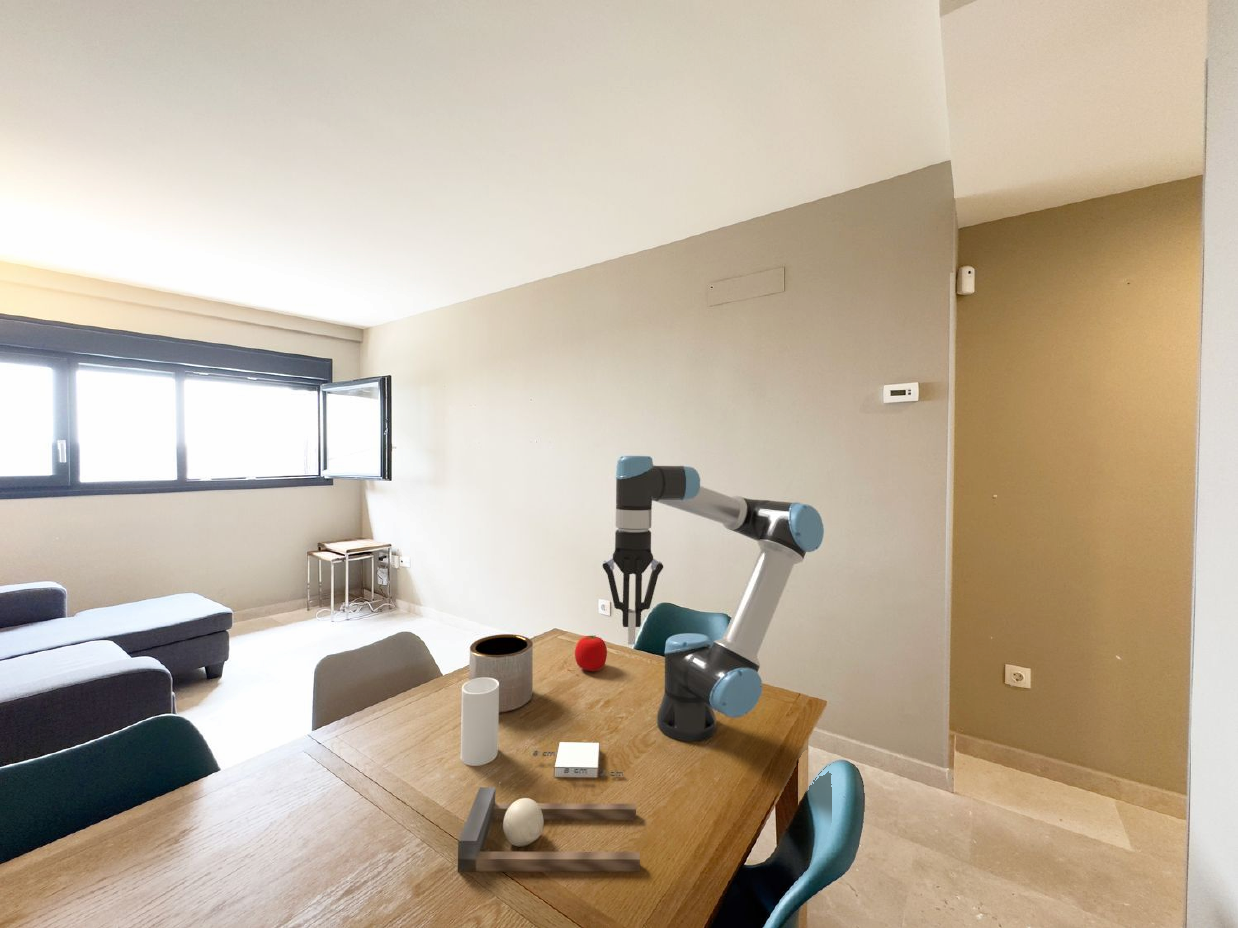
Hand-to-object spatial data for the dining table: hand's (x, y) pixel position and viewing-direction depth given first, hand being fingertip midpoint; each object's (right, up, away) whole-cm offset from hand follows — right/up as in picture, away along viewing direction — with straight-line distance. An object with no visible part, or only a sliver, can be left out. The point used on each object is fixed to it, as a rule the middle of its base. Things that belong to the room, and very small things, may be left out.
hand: (631, 641), depth 99 cm
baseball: (-20, -30, -15) cm, 39 cm away
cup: (-35, -30, +10) cm, 47 cm away
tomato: (-12, -31, +58) cm, 66 cm away
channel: (-14, -30, -14) cm, 36 cm away
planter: (-36, -30, +36) cm, 59 cm away
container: (-12, -31, +7) cm, 34 cm away
